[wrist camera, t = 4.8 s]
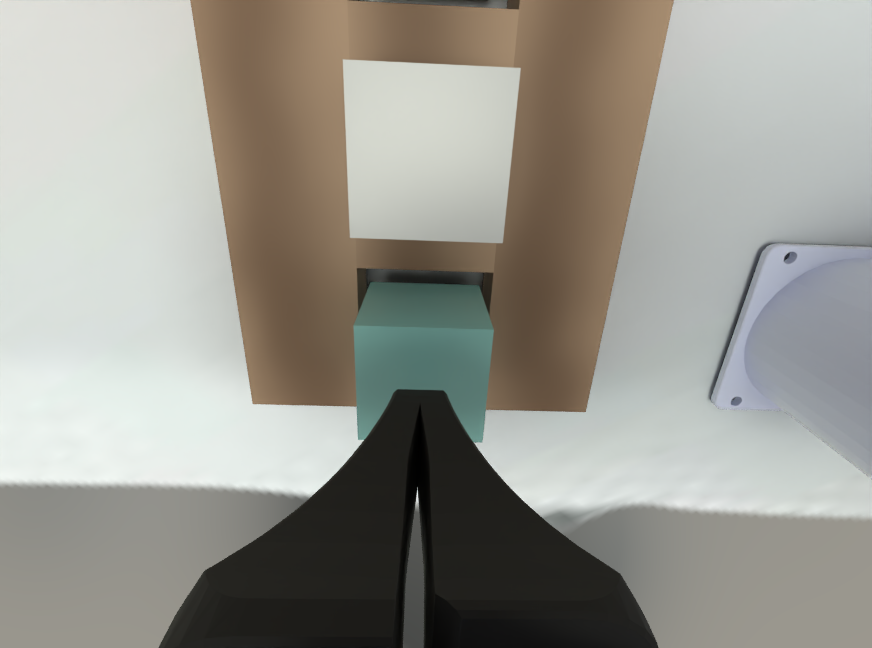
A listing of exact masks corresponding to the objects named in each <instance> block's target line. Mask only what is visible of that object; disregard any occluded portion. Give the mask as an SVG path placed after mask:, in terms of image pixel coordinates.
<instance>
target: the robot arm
mask: <svg viewBox="0 0 872 648" xmlns="http://www.w3.org/2000/svg"><path fill="white" fill-rule="evenodd" d="M789 252H790V256H789V257H788V259H786V260H785V261H784V257H785V255H786V254H787V253H789ZM735 397H736V398H735ZM733 398H735V399H734V400H733V401H731V400H732V399H733ZM711 401H712V403H713V404H714V405H715V406H716V407H717V408H719V409H734V410H774V411H785V412H786V413H787V414H789V415H790V416H791V417H792V418H794V419H795V420H796V421H798V422H799V423H800V424H801V425H803V426H804V427H805V428H807V429H808V430H809V431H810V432H812V433H813V434H814V435H816V436H817V437H818V438H819V439H821V440H822V441H823V442H825V443H826V444H827V445H828V446H830V447H831V448H832V449H834V450H835V451H836V452H837V453H839V454H840V455H841V456H843V457H844V458H845V459H846V460H848V461H849V462H850V463H852V464H853V465H854V466H855V467H857V468H858V469H859V470H861V471H862V472H863V473H865V474H866V475H867V476H868V477H870V478H871V479H872V247H863V246H835V245H808V244H781V243H776V244H771V245H769V246H767V247H766V248H765V249H764V250H763V252H762V254H761V256H760V259H759V261H758V264H757V267H756V270H755V273H754V276H753V279H752V282H751V284H750V287H749V290H748V293H747V296H746V299H745V302H744V305H743V307H742V310H741V313H740V316H739V319H738V322H737V325H736V328H735V330H734V333H733V336H732V339H731V342H730V345H729V348H728V351H727V353H726V356H725V359H724V362H723V365H722V368H721V371H720V373H719V376H718V379H717V382H716V385H715V388H714V391H713V394H712V396H711ZM417 487H418V498H419V511H420V523H421V537H422V551H423V564H424V648H658V645H657V642H656V640H655V637H654V635H653V633H652V631H651V629H650V626H649V624H648V622H647V620H646V618H645V616H644V614H643V612H642V610H641V608H640V607H639V605H638V603H637V602H636V599H635V598H634V596H633V594H632V593H631V591H630V589H629V588H628V586H627V585H626V583H625V581H624V579H623V578H622V576H621V575H620V573H618V572H617V571H615V570H614V569H612V568H611V567H609V566H607V565H606V564H605V563H603V562H602V561H600V560H599V559H597V558H595V557H594V556H592V555H591V554H589V553H588V552H586V551H585V550H583V549H582V548H580V547H579V546H577V545H576V544H575V543H573V542H572V541H571V540H569V539H568V538H567V537H565V536H564V535H563V534H561V533H560V532H559V531H558V530H556V529H555V528H554V527H552V526H551V525H550V524H549V523H547V522H546V521H545V520H544V519H543V518H542V517H540V516H539V515H538V514H537V513H536V512H535V511H534V510H533V509H532V508H530V507H529V506H528V505H527V504H526V503H525V502H524V501H523V500H522V499H521V498H520V497H519V496H518V495H517V494H516V493H515V492H514V491H513V490H512V489H511V488H510V487H509V486H508V485H507V484H506V483H505V482H504V481H503V480H502V478H501V477H500V476H499V475H498V474H497V473H496V472H495V470H494V469H493V468H492V467H491V465H490V464H489V463H488V462H487V460H486V459H485V458H484V456H483V455H482V454H481V452H480V451H479V450H478V448H477V447H476V445H475V444H474V443H473V441H472V440H471V438H470V436H469V435H468V433H467V432H466V430H465V429H464V427H463V425H462V424H461V422H460V420H459V419H458V417H457V415H456V413H455V411H454V409H453V407H452V405H451V403H450V401H449V398H448V395H447V394H446V392H445V391H444V390H412V389H397V390H396V391H395V392H394V393H393V395H392V397H391V399H390V401H389V403H388V405H387V407H386V409H385V410H384V412H383V414H382V415H381V417H380V418H379V420H378V421H377V423H376V424H375V426H374V427H373V429H372V430H371V432H370V433H369V434H368V436H367V437H366V439H365V440H364V441H363V442H362V444H361V445H360V446H359V447H358V449H357V450H356V451H355V452H354V454H353V455H352V456H351V457H350V458H349V460H348V461H347V462H346V463H345V464H344V465H343V466H342V467H341V468H340V470H339V471H338V472H337V473H336V474H335V475H334V476H333V477H332V478H331V479H330V480H329V481H328V482H327V483H326V484H325V485H324V486H322V487H321V488H320V489H319V490H318V491H317V492H316V493H315V494H314V495H313V496H312V497H310V498H309V499H308V500H307V501H306V502H305V503H304V504H303V505H301V506H300V507H299V508H298V509H297V510H295V511H294V512H293V513H291V514H290V515H289V516H287V517H286V518H285V519H283V520H282V521H281V522H279V523H278V524H277V525H275V526H274V527H273V528H272V529H270V530H269V531H268V532H266V533H265V534H263V535H262V536H260V537H259V538H257V539H256V540H254V541H253V542H251V543H250V544H248V545H246V546H245V547H243V548H242V549H240V550H238V551H237V552H235V553H233V554H232V555H230V556H229V557H227V558H225V559H224V560H222V561H220V562H219V563H217V564H216V565H214V566H212V567H210V568H209V569H207V570H205V571H204V572H203V574H202V575H201V577H200V578H199V580H198V582H197V583H196V584H195V586H194V588H193V589H192V591H191V592H190V594H189V595H188V596H187V598H186V599H185V601H184V603H183V604H182V606H181V607H180V609H179V611H178V612H177V614H176V615H175V617H174V619H173V621H172V623H171V625H170V627H169V629H168V631H167V633H166V634H165V636H164V638H163V640H162V642H161V644H160V646H159V648H403V628H404V604H405V583H406V573H407V563H408V556H409V548H410V540H411V533H412V525H413V518H414V510H415V502H416V495H417Z"/></svg>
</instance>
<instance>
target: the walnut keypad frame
mask: <svg viewBox="0 0 872 648" xmlns="http://www.w3.org/2000/svg"><path fill="white" fill-rule="evenodd" d="M190 1H191V7H192V14H193V20H194V27H195V33H196V40H197V46H198V53H199V59H200V66H201V72H202V78H203V85H204V91H205V98H206V104H207V111H208V117H209V124H210V130H211V137H212V143H213V150H214V156H215V163H216V169H217V175H218V182H219V188H220V195H221V201H222V208H223V214H224V221H225V227H226V234H227V240H228V247H229V253H230V260H231V266H232V272H233V279H234V285H235V292H236V298H237V305H238V311H239V318H240V324H241V331H242V337H243V344H244V350H245V357H246V363H247V369H248V376H249V382H250V389H251V395H252V402H253V404H275V405H317V406H357V401H356V376H355V351H354V327H353V325H354V323H355V320H356V318H357V315H358V313H359V310H360V308H361V305H362V303H363V300H364V298H365V295H366V292H367V278H366V268H369V269H399V270H428V271H458V272H484V276H483V288H482V296H483V299H484V302H485V305H486V308H487V311H488V314H489V317H490V320H491V323H492V326H493V329H494V333H493V343H492V353H491V362H490V372H489V382H488V392H487V401H486V410H524V411H565V412H586V408H587V403H588V398H589V394H590V389H591V384H592V380H593V375H594V370H595V366H596V361H597V356H598V352H599V347H600V342H601V338H602V333H603V328H604V324H605V319H606V314H607V310H608V305H609V300H610V296H611V291H612V286H613V282H614V277H615V272H616V268H617V263H618V258H619V254H620V249H621V244H622V240H623V235H624V230H625V226H626V221H627V216H628V212H629V207H630V202H631V198H632V193H633V188H634V184H635V179H636V174H637V170H638V165H639V160H640V156H641V151H642V146H643V141H644V137H645V132H646V127H647V123H648V118H649V113H650V109H651V104H652V99H653V95H654V90H655V85H656V81H657V76H658V71H659V67H660V62H661V57H662V53H663V48H664V43H665V39H666V34H667V29H668V25H669V20H670V15H671V11H672V6H673V1H674V0H508V2H507V9H499V8H480V7H461V6H443V5H424V4H405V3H386V2H367V1H359V0H190ZM343 59H345V60H365V61H386V62H406V63H427V64H448V65H468V66H489V67H510V68H521V70H520V80H519V90H518V99H517V109H516V119H515V129H514V138H513V148H512V158H511V168H510V177H509V187H508V197H507V207H506V216H505V226H504V236H503V243H480V242H453V241H425V240H397V239H369V238H350V227H349V202H348V177H347V152H346V128H345V103H344V78H343Z"/></svg>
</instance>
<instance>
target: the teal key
mask: <svg viewBox="0 0 872 648" xmlns="http://www.w3.org/2000/svg"><path fill="white" fill-rule="evenodd" d="M353 327H354V351H355V376H356V401H357V426H358V440H365V439H366V437H367V436H368V434H369V433H370V432H371V430H372V429H373V427H374V426H375V424H376V423H377V421H378V420H379V418H380V417H381V415H382V414H383V412H384V410H385V409H386V407H387V405H388V403H389V401H390V399H391V397H392V395H393V393H394V392H395V391H396V390H397V389H412V390H444V391H445V392H446V394H447V395H448V398H449V401H450V403H451V405H452V407H453V409H454V411H455V413H456V415H457V417H458V419H459V420H460V422H461V424H462V425H463V427H464V429H465V430H466V432H467V433H468V435H469V436H470V438H471V440H472V441H473V442H482V440H483V430H484V421H485V411H486V401H487V392H488V382H489V372H490V362H491V353H492V343H493V333H494V329H493V326H492V323H491V320H490V317H489V314H488V311H487V308H486V305H485V302H484V299H483V296H482V293H481V290H480V287H479V285H457V284H426V283H396V282H370V285H369V287H368V290H367V292H366V295H365V298H364V300H363V303H362V305H361V308H360V310H359V313H358V315H357V318H356V320H355V323H354V325H353Z"/></svg>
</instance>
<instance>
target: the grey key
mask: <svg viewBox="0 0 872 648" xmlns="http://www.w3.org/2000/svg"><path fill="white" fill-rule="evenodd" d="M520 70H521V68H510V67H489V66H468V65H448V64H427V63H406V62H386V61H365V60H345V59H343V78H344V103H345V128H346V152H347V177H348V202H349V227H350V238H369V239H397V240H425V241H453V242H480V243H503V236H504V226H505V216H506V207H507V197H508V187H509V177H510V168H511V158H512V148H513V138H514V129H515V119H516V109H517V99H518V90H519V80H520Z"/></svg>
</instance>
